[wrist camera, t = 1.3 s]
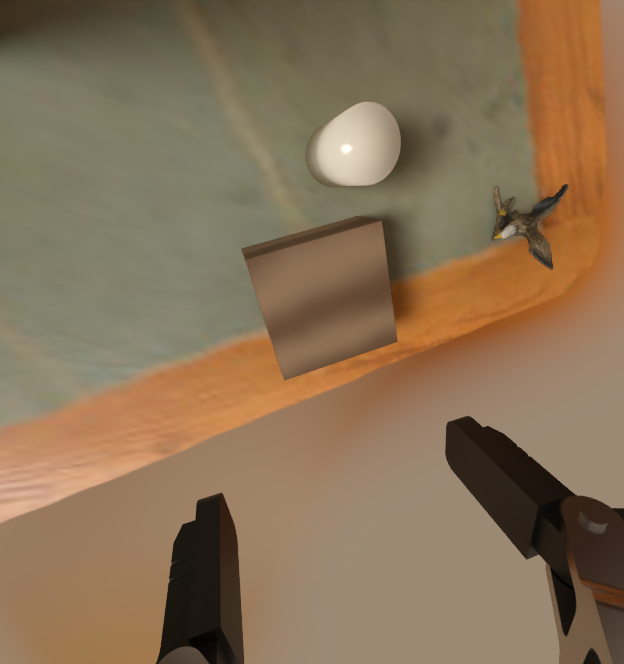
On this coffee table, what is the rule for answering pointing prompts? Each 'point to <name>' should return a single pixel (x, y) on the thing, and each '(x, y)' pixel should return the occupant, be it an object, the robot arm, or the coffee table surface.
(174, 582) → the robot arm
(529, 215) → the eagle figurine
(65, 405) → the coffee table surface
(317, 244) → the walnut block
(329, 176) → the ceramic capsule
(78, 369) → the coffee table surface
